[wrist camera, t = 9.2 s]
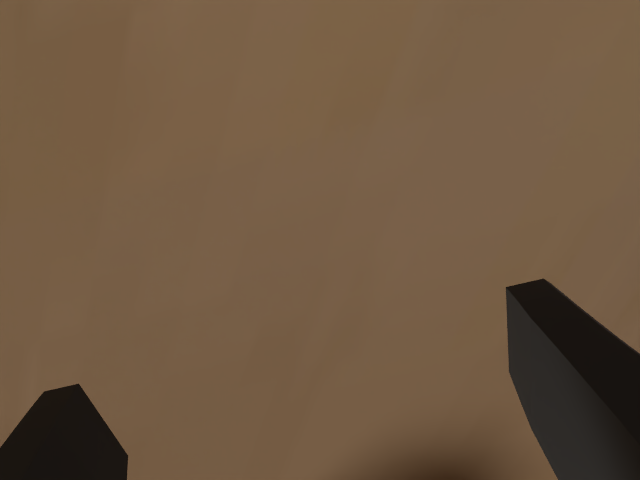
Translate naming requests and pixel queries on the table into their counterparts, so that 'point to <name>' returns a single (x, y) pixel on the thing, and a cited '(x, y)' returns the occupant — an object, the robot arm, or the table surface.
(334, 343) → the table surface
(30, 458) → the robot arm
